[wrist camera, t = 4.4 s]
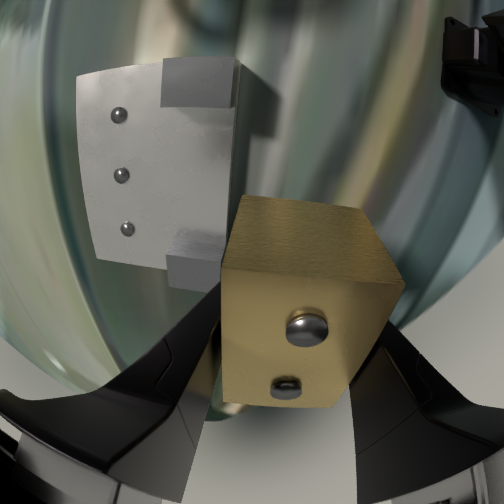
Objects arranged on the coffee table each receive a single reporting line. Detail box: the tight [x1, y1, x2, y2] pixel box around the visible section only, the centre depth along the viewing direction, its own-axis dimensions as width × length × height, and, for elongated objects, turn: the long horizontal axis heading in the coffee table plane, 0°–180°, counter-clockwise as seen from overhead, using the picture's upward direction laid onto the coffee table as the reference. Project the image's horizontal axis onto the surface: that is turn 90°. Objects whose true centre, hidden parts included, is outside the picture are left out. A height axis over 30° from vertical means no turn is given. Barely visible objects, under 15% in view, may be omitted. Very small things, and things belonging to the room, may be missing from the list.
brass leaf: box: [221, 195, 405, 408], centre depth 9 cm, size 4×6×4 cm, turn 176°
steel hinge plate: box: [76, 57, 242, 292], centre depth 17 cm, size 12×16×3 cm
